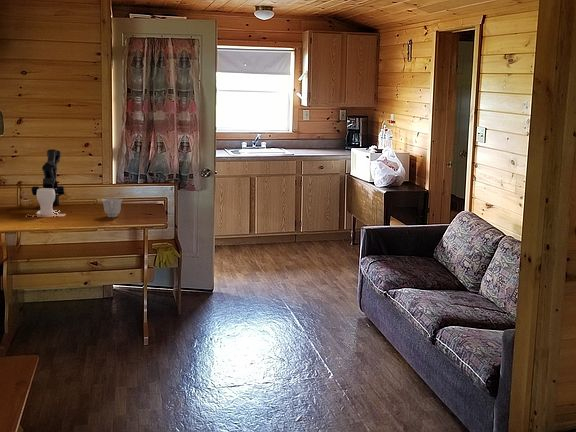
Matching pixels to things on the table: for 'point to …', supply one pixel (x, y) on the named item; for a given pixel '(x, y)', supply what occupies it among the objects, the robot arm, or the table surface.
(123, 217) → the table surface
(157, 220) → the table surface
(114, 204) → the teacup
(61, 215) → the t mat
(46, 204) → the white vase
